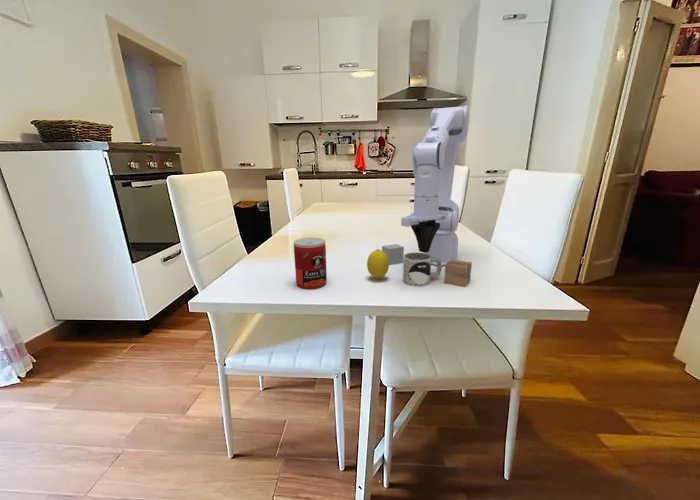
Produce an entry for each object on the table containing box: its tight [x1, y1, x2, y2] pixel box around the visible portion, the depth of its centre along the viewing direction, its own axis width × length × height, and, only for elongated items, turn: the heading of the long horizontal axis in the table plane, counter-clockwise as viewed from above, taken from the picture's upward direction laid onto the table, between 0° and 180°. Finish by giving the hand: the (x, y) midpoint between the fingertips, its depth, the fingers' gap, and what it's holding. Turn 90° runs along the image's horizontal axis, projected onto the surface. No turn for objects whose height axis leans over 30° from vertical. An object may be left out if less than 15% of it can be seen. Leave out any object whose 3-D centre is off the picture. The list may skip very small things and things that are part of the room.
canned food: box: [293, 237, 328, 290], centre depth 77 cm, size 8×8×11 cm
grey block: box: [381, 243, 405, 266], centre depth 94 cm, size 5×4×5 cm
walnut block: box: [444, 259, 473, 288], centre depth 78 cm, size 5×5×5 cm
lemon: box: [366, 248, 390, 280], centre depth 80 cm, size 6×6×8 cm
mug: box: [402, 252, 442, 287], centre depth 79 cm, size 10×7×7 cm
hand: (423, 251), depth 78 cm, fingers closed
